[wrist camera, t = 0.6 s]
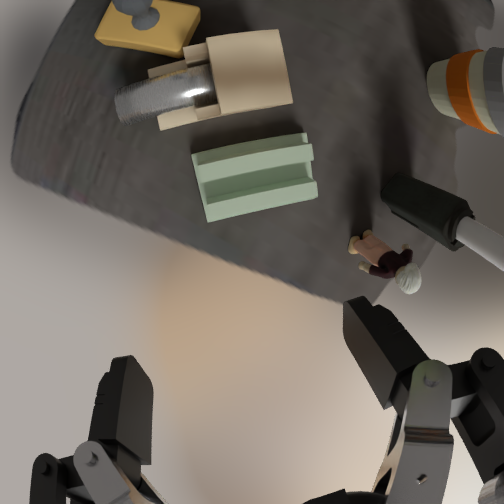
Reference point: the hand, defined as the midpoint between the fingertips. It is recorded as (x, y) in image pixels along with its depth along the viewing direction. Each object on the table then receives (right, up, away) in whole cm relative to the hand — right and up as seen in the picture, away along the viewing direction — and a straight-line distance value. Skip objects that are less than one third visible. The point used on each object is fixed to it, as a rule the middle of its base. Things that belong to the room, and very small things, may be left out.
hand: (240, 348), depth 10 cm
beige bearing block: (-4, +21, +17) cm, 27 cm away
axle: (-5, +19, +13) cm, 24 cm away
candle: (+21, +12, +26) cm, 36 cm away
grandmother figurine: (+16, +5, +29) cm, 33 cm away
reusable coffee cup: (+30, +29, +20) cm, 46 cm away
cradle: (+1, +12, +22) cm, 25 cm away
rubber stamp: (-11, +28, +12) cm, 33 cm away
